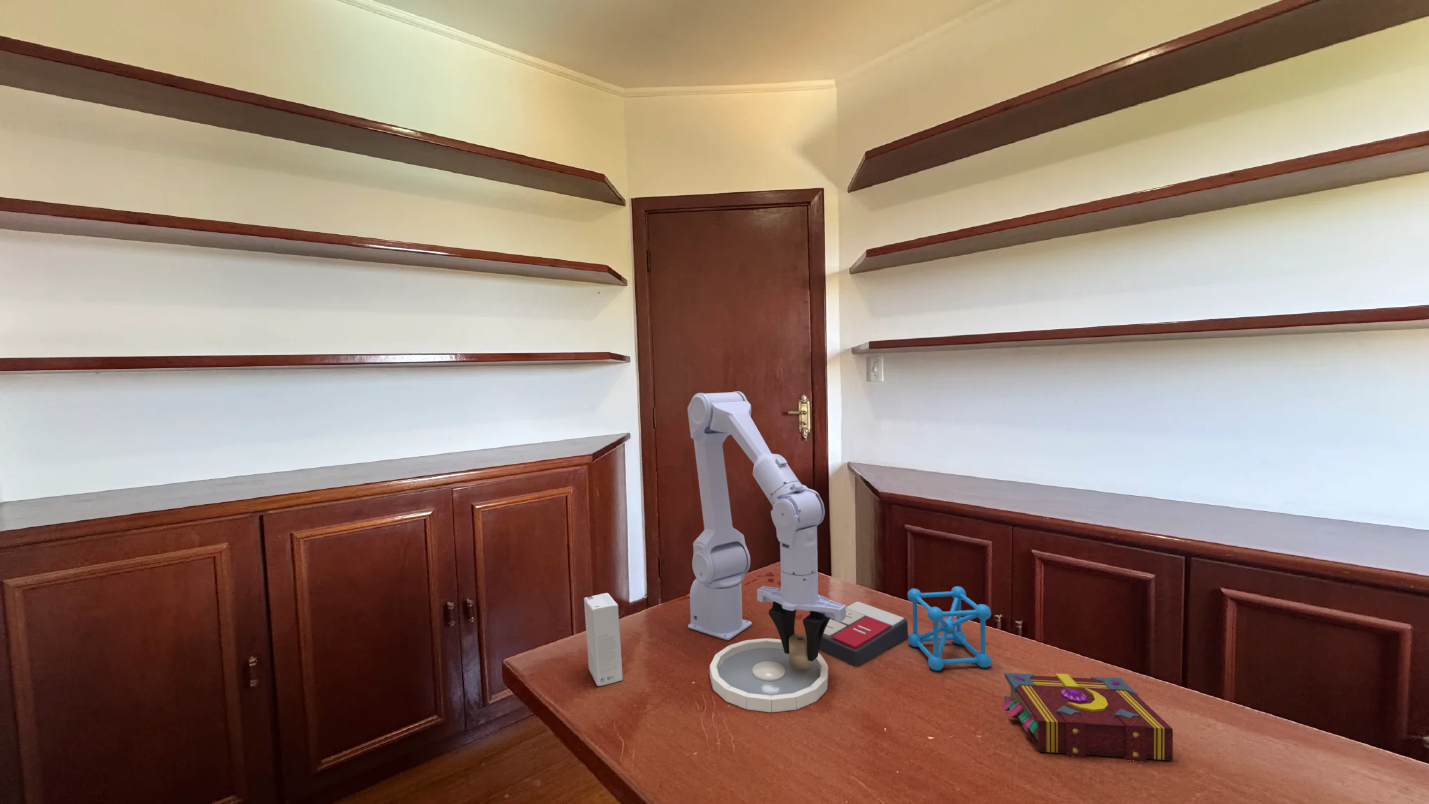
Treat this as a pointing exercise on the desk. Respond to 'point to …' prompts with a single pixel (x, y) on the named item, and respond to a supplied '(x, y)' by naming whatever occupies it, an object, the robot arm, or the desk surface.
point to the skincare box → (603, 639)
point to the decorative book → (1087, 717)
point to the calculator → (863, 634)
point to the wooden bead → (799, 652)
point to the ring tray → (766, 677)
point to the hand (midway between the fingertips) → (800, 654)
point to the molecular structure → (949, 628)
